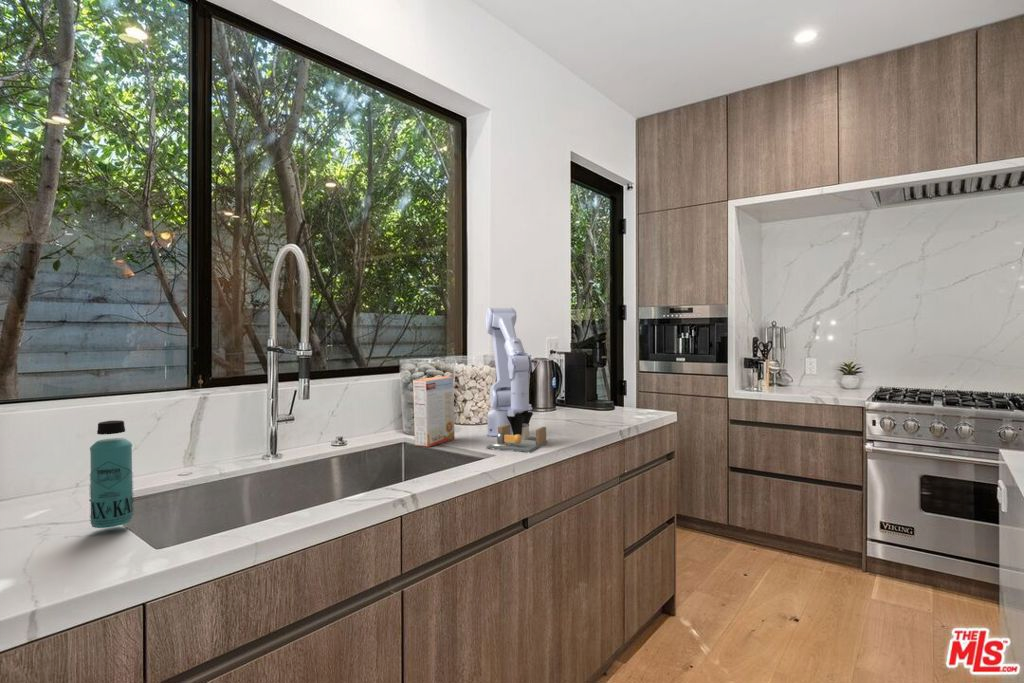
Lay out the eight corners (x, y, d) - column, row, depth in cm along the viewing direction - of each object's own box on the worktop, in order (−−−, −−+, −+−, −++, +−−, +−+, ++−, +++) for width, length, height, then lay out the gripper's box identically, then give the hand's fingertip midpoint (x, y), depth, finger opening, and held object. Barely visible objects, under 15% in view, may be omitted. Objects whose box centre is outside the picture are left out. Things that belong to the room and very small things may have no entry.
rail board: (486, 448, 169) (486, 431, 168) (507, 439, 182) (507, 423, 182) (529, 452, 163) (529, 434, 163) (547, 443, 176) (547, 426, 176)
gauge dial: (488, 445, 169) (487, 434, 169) (496, 442, 175) (496, 431, 175) (505, 447, 167) (505, 435, 167) (514, 443, 172) (513, 432, 172)
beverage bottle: (87, 530, 101) (84, 421, 101) (130, 521, 106) (128, 417, 106) (93, 539, 97) (90, 425, 96) (138, 530, 101) (136, 420, 101)
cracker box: (440, 438, 187) (440, 375, 186) (455, 439, 183) (454, 376, 183) (413, 445, 175) (412, 379, 174) (428, 447, 171) (427, 379, 171)
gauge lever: (503, 441, 169) (503, 433, 169) (507, 440, 171) (506, 432, 171) (518, 443, 166) (518, 435, 166) (522, 442, 167) (522, 434, 167)
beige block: (511, 440, 175) (511, 425, 175) (517, 438, 179) (516, 423, 178) (524, 441, 173) (524, 425, 173) (529, 439, 177) (529, 423, 177)
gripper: (522, 396, 167) (522, 441, 168) (539, 391, 181) (540, 432, 181) (501, 395, 170) (501, 439, 171) (519, 390, 184) (520, 431, 184)
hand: (520, 436), depth 176 cm, fingers closed on beige block, 4 cm apart
